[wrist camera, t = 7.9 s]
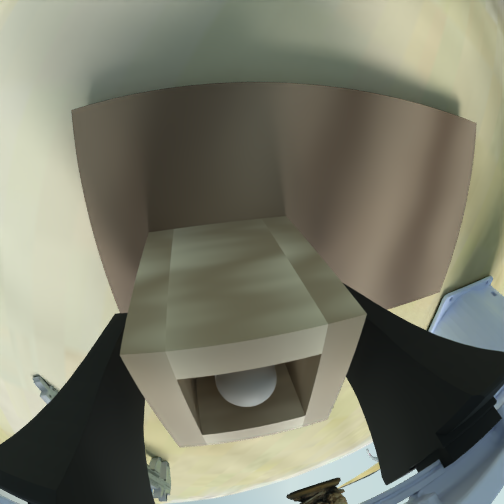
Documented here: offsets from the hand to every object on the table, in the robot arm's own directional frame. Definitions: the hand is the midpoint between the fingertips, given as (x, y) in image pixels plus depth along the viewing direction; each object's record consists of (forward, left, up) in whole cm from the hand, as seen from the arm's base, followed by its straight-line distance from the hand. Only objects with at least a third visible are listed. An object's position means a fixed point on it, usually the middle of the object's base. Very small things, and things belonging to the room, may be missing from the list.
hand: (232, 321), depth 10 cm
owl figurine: (-17, +82, -4) cm, 84 cm away
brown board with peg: (-5, -2, -4) cm, 7 cm away
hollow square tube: (0, 0, -2) cm, 2 cm away
